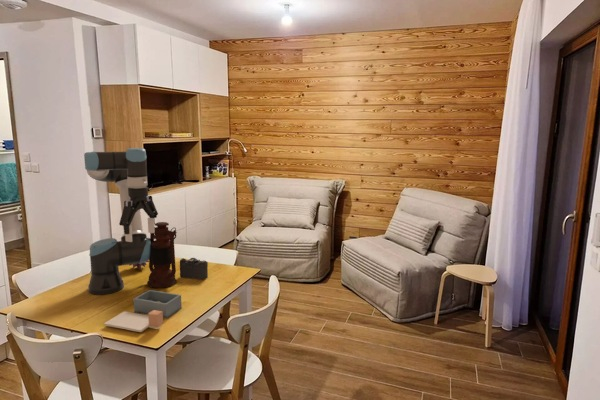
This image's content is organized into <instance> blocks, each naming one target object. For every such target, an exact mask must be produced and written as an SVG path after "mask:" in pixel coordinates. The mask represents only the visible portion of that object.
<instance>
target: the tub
mask: <svg viewBox="0 0 600 400" xmlns="http://www.w3.org/2000/svg"><path fill="white" fill-rule="evenodd" d="M182 307H183V306H182V295H181V294H176V293H171V292H166V291H158V290H153V289H149V290H147V291H145V292H143V293H142V294H139V295H138V296H136V297H133V311H134V312H133V313H136V314H142V315H148V313H150V312H151V311H153V310H157V311H163V319H169V318H170V317H172V315H174V314H175V313H177V312H178V311H180V310H181V309H182Z"/></svg>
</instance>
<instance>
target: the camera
mask: <svg viewBox="0 0 600 400" xmlns="http://www.w3.org/2000/svg"><path fill="white" fill-rule="evenodd" d="M208 264H209V262H208V261H206V260H201V259H197V258H196V257H190V258H189V259H186V258H181V259H179V277H180V278H181V279H191V280H192V279H193V280H194V279H195V280H206V278H207V279H208V278H209V277H208V276H209V275H208V274H209V272H208V267H209V265H208Z"/></svg>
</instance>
